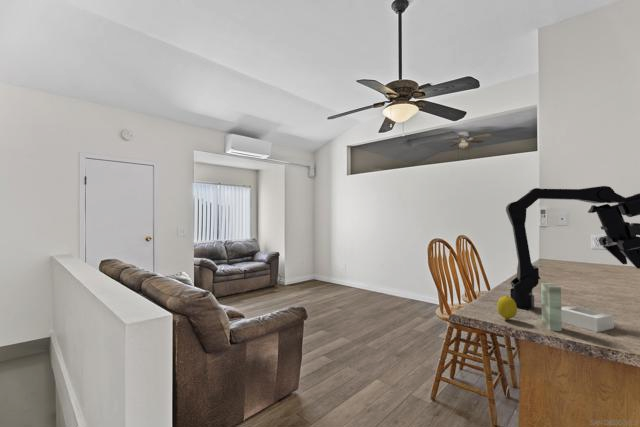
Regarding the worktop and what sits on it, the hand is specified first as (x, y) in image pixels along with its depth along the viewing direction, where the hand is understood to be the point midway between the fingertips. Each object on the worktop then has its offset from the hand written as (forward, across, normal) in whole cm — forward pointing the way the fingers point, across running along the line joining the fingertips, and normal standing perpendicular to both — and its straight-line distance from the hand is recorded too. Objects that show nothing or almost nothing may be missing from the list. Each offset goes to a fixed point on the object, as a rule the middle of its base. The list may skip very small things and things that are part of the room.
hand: (632, 266), depth 99 cm
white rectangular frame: (+11, -14, +21) cm, 28 cm away
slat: (+8, -22, +31) cm, 39 cm away
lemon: (+5, -19, +42) cm, 46 cm away
